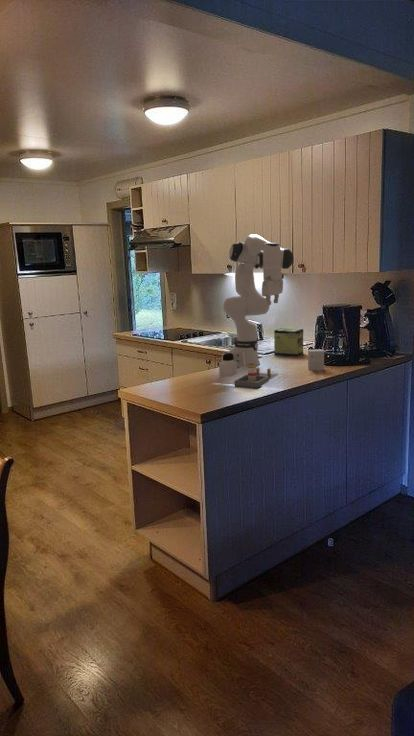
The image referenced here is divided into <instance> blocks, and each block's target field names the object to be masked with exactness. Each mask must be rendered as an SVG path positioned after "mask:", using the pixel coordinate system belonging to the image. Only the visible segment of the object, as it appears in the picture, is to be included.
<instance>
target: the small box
mask: <svg viewBox="0 0 414 736" xmlns="http://www.w3.org/2000/svg"><path fill="white" fill-rule="evenodd" d="M307 368H308V371H325V350H324V349H320V348H318V349H317V348H316V349H308V350H307Z"/></svg>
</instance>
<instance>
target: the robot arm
mask: <svg viewBox="0 0 414 736" xmlns="http://www.w3.org/2000/svg"><path fill="white" fill-rule="evenodd" d="M228 255H229V259H230V260H231V261H233V262H235V263H239V264H238V265H237V266H236V267H235V268H236V269H235V274H234V284H235V285H234V286H235V287H234V288H235V292H236V293H237V294H238V295H237V296H236V295H235V296H231V297H228V298H226V299H225V300H224V302H223V305H222V306H223V307H222V308H223V312H224V313H225V314H226V315H227V316H229V318H231V319H232V321H233V322H234V324H235V327H236V340H235V341H233V345H234V346H233V347H232V348H231V349H230V350H229V351H227V352H226V353H232V354H233V360H234V361H233V362H236V364H237V368H242V367H248V366H247V364H256V367H257V366H260V365H261V363H260V360H259V353H258V349H259V348H258V347H259V344H258V342H259V341H258V336H257V334H258V331H257V329H258V328H257V326H256V324H255V323H253V322H251V321H249V320H248V319H246V317H252V316H253V317H254V316H263V315H265V314H267V313H268V312H269V310H270V306H271V305H272V301H271V296H274V298H273V303H274V304H278V303H279V297H280V294H282V293H283V290H284V279H285V274H284V273H282V269H285V270H288V269H290V267H291V266H292V265H293V263H294V258H295V257H294V254H293V252H292V251H291V249H289V248H283V247H281V245H280V243H278V242H271V241H268V240H266V239H265V238H263V237H262V236H260V235H258V234H255V233H254V234H252V233H251V234H250V235H247V237H246V238H245V240H244V242H241V241H238V242H235V243H233V244H231V246H230V248H229V251H228ZM254 268H255V269H256V270H257V269H262V270H263V271H262V272H263V273H262V275H263V279H262V280H263V281H262V283H261V293H259V291H258V289H256V285H255V275H254ZM220 363H222V361H221V362H220Z"/></svg>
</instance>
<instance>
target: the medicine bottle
mask: <svg viewBox="0 0 414 736" xmlns="http://www.w3.org/2000/svg"><path fill="white" fill-rule="evenodd" d="M233 361H234V360H233V354H232V353H227V352H224V353H222V354H221V362H222V363H221V362H219V363H218V373H219V376H220V377H219V378H221V377H224V376H225V377H226V376H227V377H233V376H235V375H237V373H238V372H237V371H238V370H237V368H238V367H237V364H236V362H233Z"/></svg>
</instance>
